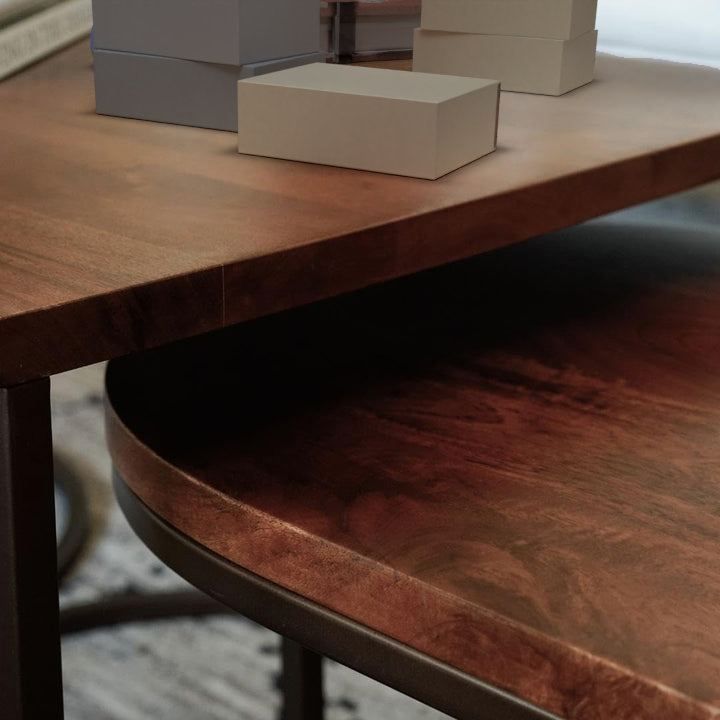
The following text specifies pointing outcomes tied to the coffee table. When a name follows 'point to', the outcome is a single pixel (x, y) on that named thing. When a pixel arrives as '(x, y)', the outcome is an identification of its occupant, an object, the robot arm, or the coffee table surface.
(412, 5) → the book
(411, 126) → the cream box
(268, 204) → the coffee table surface
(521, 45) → the cream stack
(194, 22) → the grey stack
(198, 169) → the coffee table surface
